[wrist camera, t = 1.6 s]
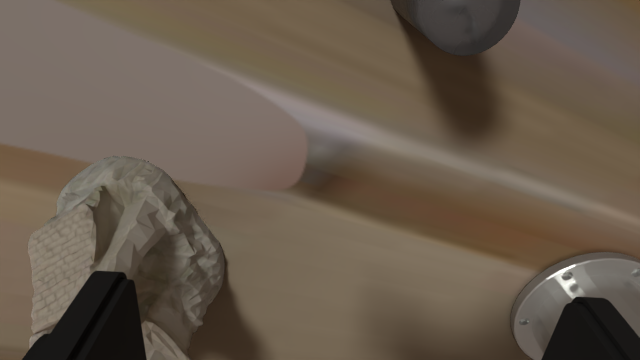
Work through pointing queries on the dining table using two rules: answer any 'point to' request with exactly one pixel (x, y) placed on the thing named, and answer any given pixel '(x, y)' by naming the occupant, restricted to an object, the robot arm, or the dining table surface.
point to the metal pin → (460, 22)
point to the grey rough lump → (128, 252)
